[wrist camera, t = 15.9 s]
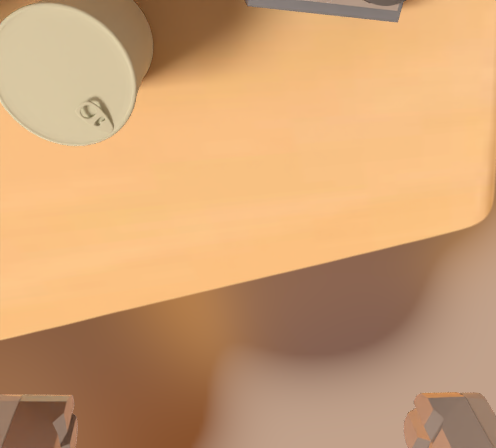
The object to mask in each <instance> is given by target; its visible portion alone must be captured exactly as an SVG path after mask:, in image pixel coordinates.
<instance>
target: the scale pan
mask: <svg viewBox="0 0 496 448" xmlns="http://www.w3.org/2000/svg"><path fill="white" fill-rule="evenodd" d="M304 1H313V2H322V3H331V4H340V5H349V6H357V7H366V8H375V9H384V10H393V11H397V10H398V7H399V4H396V5H392V6H379V5H375V4H372V3H369V2H366V1H364V0H304Z"/></svg>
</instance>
